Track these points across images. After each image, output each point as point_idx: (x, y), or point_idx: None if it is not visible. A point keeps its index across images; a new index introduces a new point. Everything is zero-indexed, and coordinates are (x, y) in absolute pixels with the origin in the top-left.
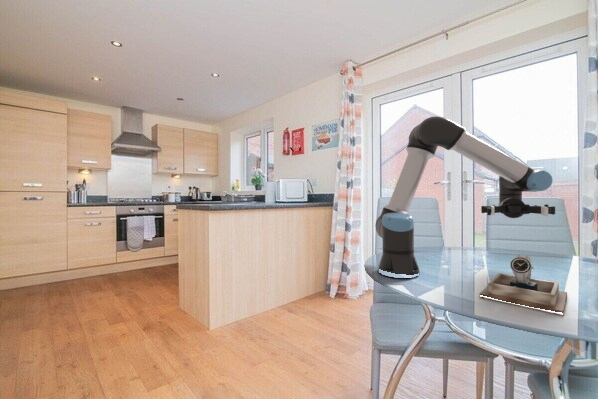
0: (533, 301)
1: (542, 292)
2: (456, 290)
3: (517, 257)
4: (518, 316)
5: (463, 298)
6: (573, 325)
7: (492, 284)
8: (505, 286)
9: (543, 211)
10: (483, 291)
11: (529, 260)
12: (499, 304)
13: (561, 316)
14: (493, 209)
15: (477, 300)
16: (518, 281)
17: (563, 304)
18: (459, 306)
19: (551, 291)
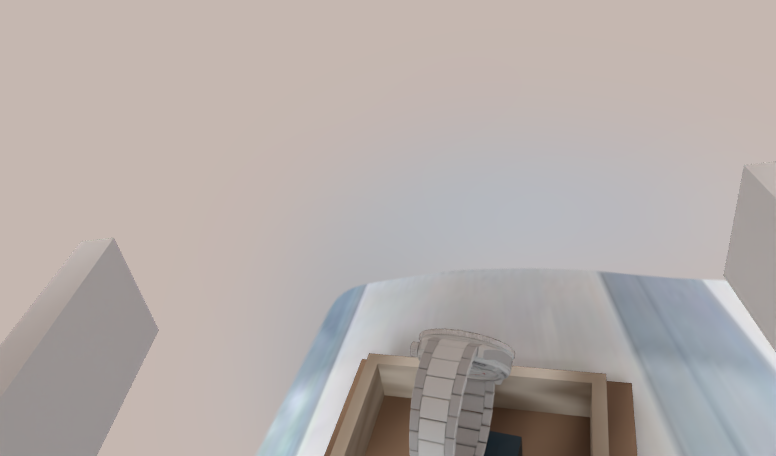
0: None
1: (403, 362)
2: (759, 436)
3: (477, 345)
4: (485, 307)
5: (678, 358)
6: (359, 322)
7: (586, 373)
8: (532, 369)
9: (93, 366)
10: (627, 417)
11: (422, 338)
12: (547, 366)
13: None
14: (750, 199)
15: (626, 364)
16: (483, 422)
17: (340, 420)
18: (653, 290)
19: (368, 388)
